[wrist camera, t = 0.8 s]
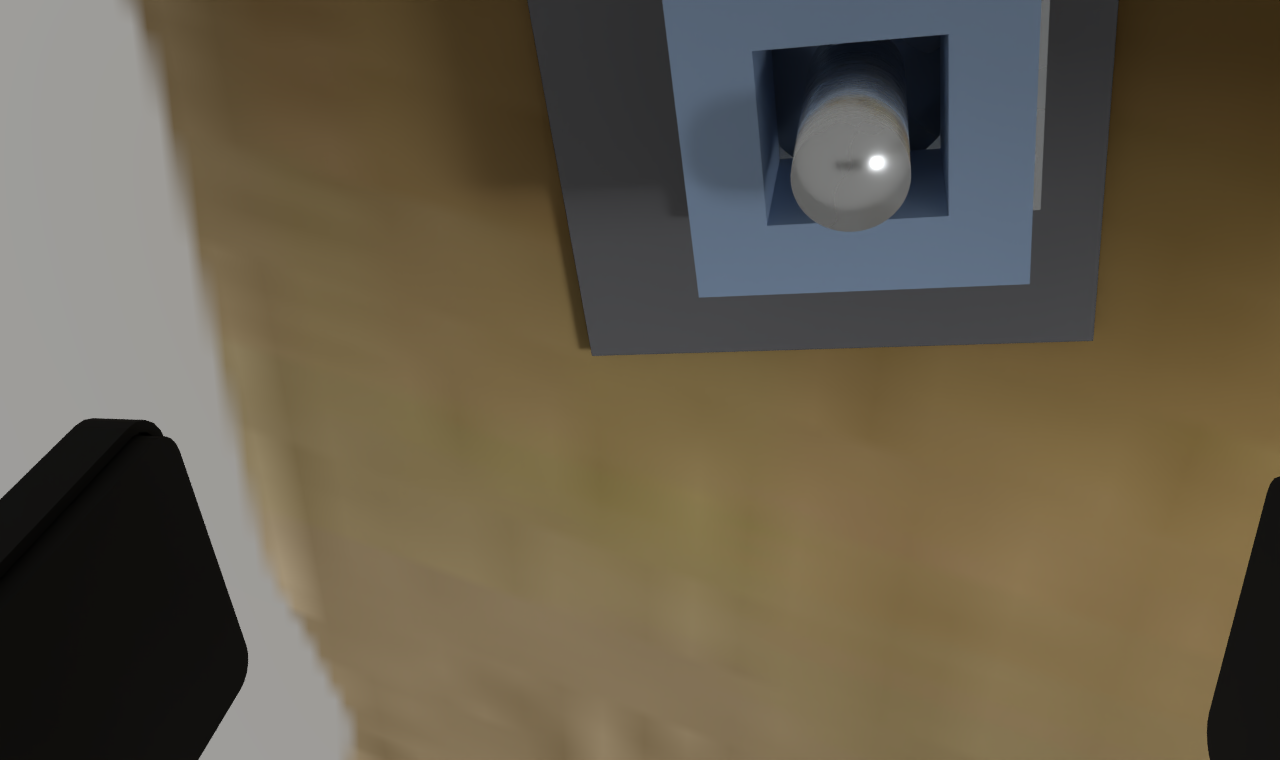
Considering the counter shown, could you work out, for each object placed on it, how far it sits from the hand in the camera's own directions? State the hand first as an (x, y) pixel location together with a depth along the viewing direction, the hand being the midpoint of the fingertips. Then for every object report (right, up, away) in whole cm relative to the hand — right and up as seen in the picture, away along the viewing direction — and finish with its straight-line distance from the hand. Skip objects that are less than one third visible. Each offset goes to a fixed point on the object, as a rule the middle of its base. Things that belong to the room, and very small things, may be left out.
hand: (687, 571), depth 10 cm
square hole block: (+4, +8, +14) cm, 17 cm away
